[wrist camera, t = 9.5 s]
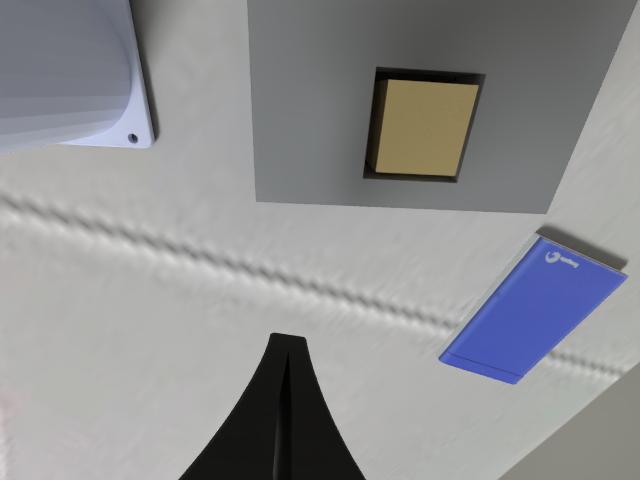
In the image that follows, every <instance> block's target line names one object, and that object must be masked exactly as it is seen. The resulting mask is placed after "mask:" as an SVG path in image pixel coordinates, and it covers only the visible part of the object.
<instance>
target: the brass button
mask: <svg viewBox="0 0 640 480" xmlns="http://www.w3.org/2000/svg"><path fill="white" fill-rule="evenodd" d="M478 86H479V85H464V84H449V83H434V82H419V81H404V80H383V81H377V82H375V86H374V94H373V102H372V110H371V118H370V126H369V135H368V143H367V151H366V159H365V160H366V161H367V162H368V163H369V165H370V166H371V167H372V168H373V169H374V171H375V172H385V173H405V174H426V175H446V176H455V174H456V170H457V167H458V163H459V159H460V155H461V151H462V147H463V144H464V140H465V136H466V132H467V128H468V125H469V121H470V117H471V113H472V109H473V106H474V102H475V98H476V94H477V90H478Z"/></svg>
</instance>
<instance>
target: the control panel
mask: <svg viewBox="0 0 640 480" xmlns="http://www.w3.org/2000/svg"><path fill="white" fill-rule="evenodd" d="M636 3H637V0H247V4H248V28H249V51H250V75H251V98H252V121H253V145H254V168H255V191H256V202H274V203H297V204H320V205H344V206H367V207H390V208H414V209H437V210H460V211H483V212H507V213H530V214H547V211H548V209H549V207H550V204H551V202H552V200H553V197H554V195H555V193H556V190H557V188H558V186H559V183H560V181H561V179H562V176H563V174H564V172H565V169H566V167H567V165H568V162H569V160H570V158H571V155H572V153H573V151H574V148H575V146H576V143H577V141H578V139H579V136H580V134H581V132H582V129H583V127H584V125H585V122H586V120H587V118H588V115H589V113H590V111H591V108H592V106H593V104H594V101H595V99H596V97H597V94H598V92H599V90H600V87H601V85H602V83H603V80H604V78H605V75H606V73H607V71H608V68H609V66H610V64H611V61H612V59H613V57H614V54H615V52H616V50H617V47H618V45H619V43H620V40H621V38H622V36H623V33H624V31H625V29H626V26H627V24H628V22H629V19H630V17H631V15H632V12H633V10H634V8H635V5H636ZM376 72H389V73H404V74H419V75H433V76H448V77H457V78H456V82H455V84H464V85H479V86H478V90H477V94H476V98H475V102H474V106H473V109H472V113H471V117H470V121H469V125H468V128H467V132H466V136H465V140H464V144H463V147H462V151H461V155H460V159H459V163H458V167H457V170H456V174H455V176H446V175H426V174H405V173H385V172H375V171H374V169H373V168H372V167H370V166H364V163H365V155H366V147H367V138H368V130H369V122H370V114H371V106H372V97H373V89H374V81H375V73H376Z"/></svg>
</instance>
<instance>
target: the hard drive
mask: <svg viewBox="0 0 640 480" xmlns="http://www.w3.org/2000/svg"><path fill="white" fill-rule="evenodd" d="M627 278H628V276H627V275H626V274H624V273H622V272H621V271H619V270H617V269H615V268H612V267H610V266H608V265H606V264H604V263H601V262H599V261H597V260H595V259H592V258H590V257H588V256H586V255H584V254H581V253H579V252H577V251H575V250H572V249H570V248H568V247H566V246H563V245H561V244H559V243H557V242H555V241H552V240H550V239H548V238H546V237H543V236H541V235H539V234H537V233H534V234H533V235H532V236H531V237H530V239H529V240H528V241H527V242H526V244H525V245H524V246H523V247H522V248H521V250H520V251H519V252H518V253H517V255H516V256H515V257H514V258H513V259H512V261H511V262H510V263H509V264H508V265H507V267H506V268H505V269H504V270H503V272H502V273H501V274H500V275H499V276H498V278H497V279H496V280H495V281H494V283H493V284H492V285H491V286H490V287H489V289H488V290H487V291H486V292H485V294H484V295H483V296H482V297H481V298H480V300H479V301H478V302H477V303H476V305H475V306H474V307H473V308H472V309H471V311H470V312H469V313H468V314H467V316H466V317H465V318H464V319H463V320H462V322H461V323H460V324H459V325H458V327H457V328H456V329H455V330H454V331H453V333H452V334H451V335H450V336H449V337H448V339H447V340H446V341H445V342H444V344H443V345H442V346H441V347H440V348H439V350H438V351H437V352H436V355H437V357H438V359H439V361H441V362H443V363H445V364H448V365H451V366H454V367H457V368H460V369H463V370H467V371H470V372H473V373H477V374H480V375H483V376H487V377H490V378H493V379H496V380H500V381H503V382H506V383H510V384H516V383H517V382H518V381H519V380H520V379H521V378H523V376H524V375H525V374H526V373H527V372H528V371H529V370H530V369H531V368H532V367H534V366H535V365H536V364H537V363H538V362H539V361H540V360H541V359H542V358H543V357H544V356H545V355H546V354H547V353H548V352H549V351H550V350H552V349H553V348H554V347H555V346H556V345H557V344H558V343H559V342H560V341H561V340H562V339H563V338H564V337H565V336H567V335H568V334H569V333H570V332H571V331H572V330H573V329H574V328H575V327H576V326H577V325H578V324H579V323H580V322H581V321H582V320H583V319H585V318H586V317H587V316H588V315H589V314H590V313H591V312H592V311H593V310H594V309H595V308H596V307H597V306H598V305H599V304H600V303H601V302H603V301H604V300H605V299H606V298H607V297H608V296H609V295H610V294H611V293H612V292H613V291H614V290H615V289H616V288H617V287H619V286H620V285H621V284H622V283H623V282H624V281H625V280H626V279H627Z"/></svg>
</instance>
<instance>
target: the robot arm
mask: <svg viewBox="0 0 640 480" xmlns="http://www.w3.org/2000/svg"><path fill="white" fill-rule="evenodd" d="M132 134H135V135H136V136H137V138H138V142H135V141H134V140H133V139H132ZM154 140H155V139H154V133H153V128H152V122H151V117H150V112H149V106H148V101H147V95H146V90H145V85H144V79H143V74H142V68H141V63H140V58H139V52H138V47H137V41H136V36H135V31H134V25H133V20H132V14H131V9H130V4H129V0H0V155H2V154H7V153H12V152H17V151H22V150H27V149H32V148H37V147H42V146H47V145H52V144H71V145H90V146H110V147H129V148H149V147H151V146H152V145H153V144H154ZM274 455H275V457H274ZM273 471H274V473H273ZM179 480H366V479H365V477H364V476H363V474H362V472H361V471H360V469H359V467H358V466H357V464H356V462H355V461H354V459H353V457H352V456H351V454H350V452H349V450H348V448H347V446H346V445H345V443H344V441H343V439H342V437H341V435H340V433H339V431H338V429H337V427H336V425H335V423H334V421H333V418H332V416H331V414H330V412H329V409H328V407H327V405H326V402H325V400H324V397H323V395H322V392H321V389H320V387H319V384H318V381H317V378H316V375H315V372H314V369H313V366H312V362H311V359H310V355H309V351H308V347H307V341H306V339H305V337H300V336H293V335H287V334H280V333H272V334H270V338H269V342H268V345H267V348H266V350H265V353H264V355H263V357H262V359H261V362H260V364H259V365H258V367H257V369H256V371H255V373H254V375H253V377H252V379H251V381H250V382H249V384H248V386H247V387H246V389H245V391H244V392H243V394H242V396H241V397H240V399H239V401H238V402H237V404H236V405H235V407H234V408H233V410H232V411H231V413H230V414H229V416H228V417H227V419H226V420H225V421H224V423H223V424H222V426H221V427H220V428H219V430H218V431H217V432H216V434H215V435H214V436H213V438H212V439H211V440H210V442H209V443H208V444H207V446H206V447H205V448H204V450H203V451H202V452H201V453H200V455H199V456H198V457H197V458H196V459H195V461H194V462H193V463H192V464H191V465H190V467H189V468H188V469H187V470H186V471H185V473H184V474H183V475H182V476H181V477H180V478H179Z"/></svg>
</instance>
